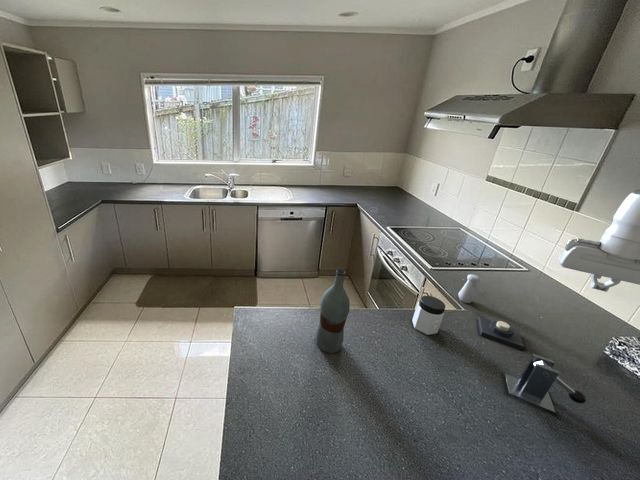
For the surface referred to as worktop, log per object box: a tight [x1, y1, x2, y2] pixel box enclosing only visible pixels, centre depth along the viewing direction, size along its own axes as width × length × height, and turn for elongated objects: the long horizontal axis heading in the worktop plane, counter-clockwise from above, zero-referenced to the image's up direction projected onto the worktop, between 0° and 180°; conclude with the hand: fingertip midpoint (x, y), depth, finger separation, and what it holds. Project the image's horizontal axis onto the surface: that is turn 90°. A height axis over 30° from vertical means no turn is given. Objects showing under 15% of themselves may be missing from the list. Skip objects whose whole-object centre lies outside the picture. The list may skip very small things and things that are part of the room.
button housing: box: [477, 316, 525, 351], centre depth 105 cm, size 12×10×4 cm
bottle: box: [315, 268, 351, 354], centre depth 92 cm, size 9×9×30 cm
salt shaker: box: [458, 274, 481, 304], centre depth 122 cm, size 6×6×13 cm
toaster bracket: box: [504, 353, 560, 414], centre depth 81 cm, size 10×8×13 cm
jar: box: [411, 295, 446, 336], centre depth 106 cm, size 9×8×12 cm
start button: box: [496, 320, 511, 331], centre depth 104 cm, size 4×4×2 cm
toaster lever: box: [533, 360, 587, 404], centre depth 78 cm, size 13×3×3 cm
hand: (598, 289), depth 81 cm, fingers closed
